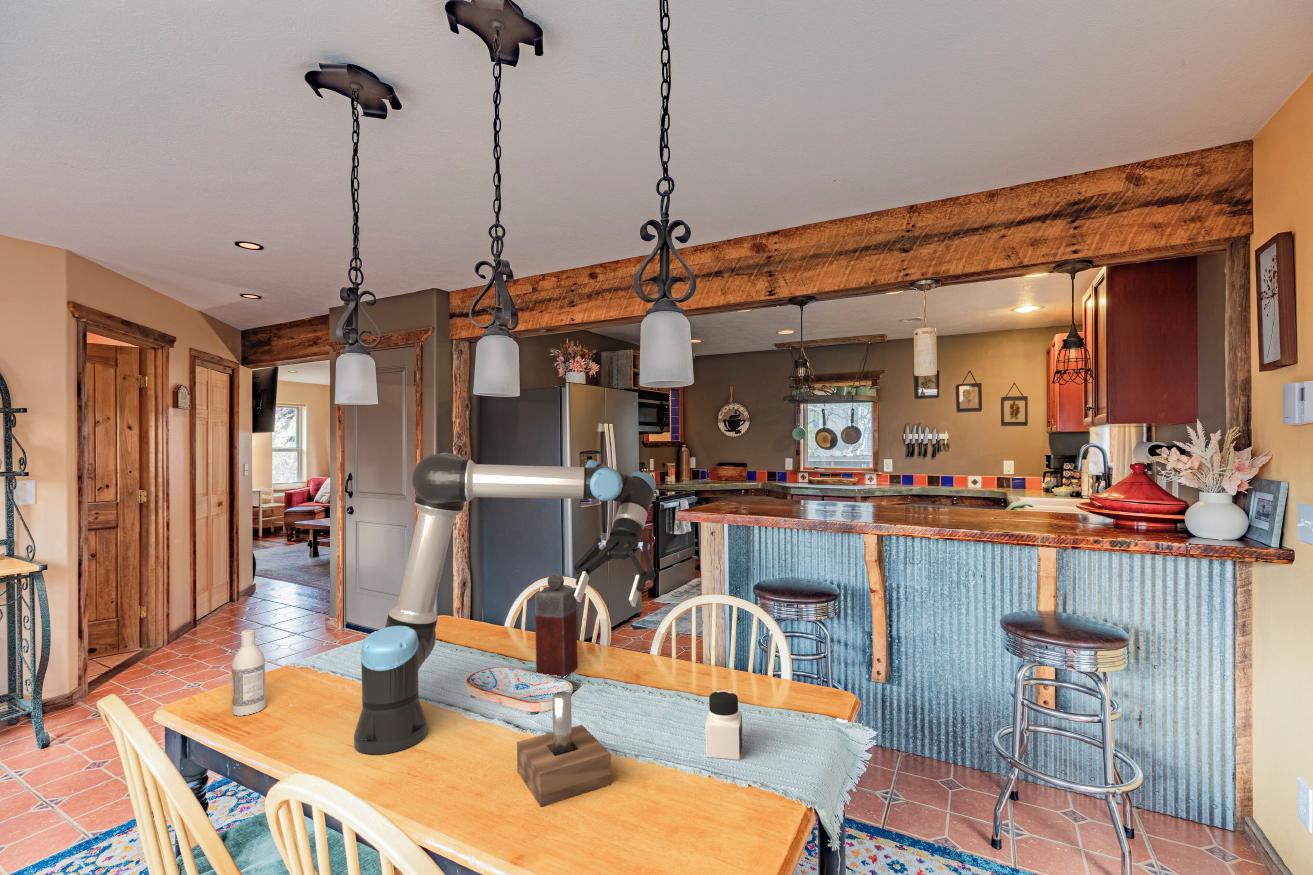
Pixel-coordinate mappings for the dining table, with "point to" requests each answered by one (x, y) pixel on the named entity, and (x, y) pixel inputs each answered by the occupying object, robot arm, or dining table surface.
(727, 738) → the medicine bottle
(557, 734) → the steel pin
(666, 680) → the dining table surface
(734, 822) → the dining table surface
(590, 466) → the robot arm
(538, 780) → the bore block
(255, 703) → the bath foam
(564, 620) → the square glass decanter
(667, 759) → the dining table surface
